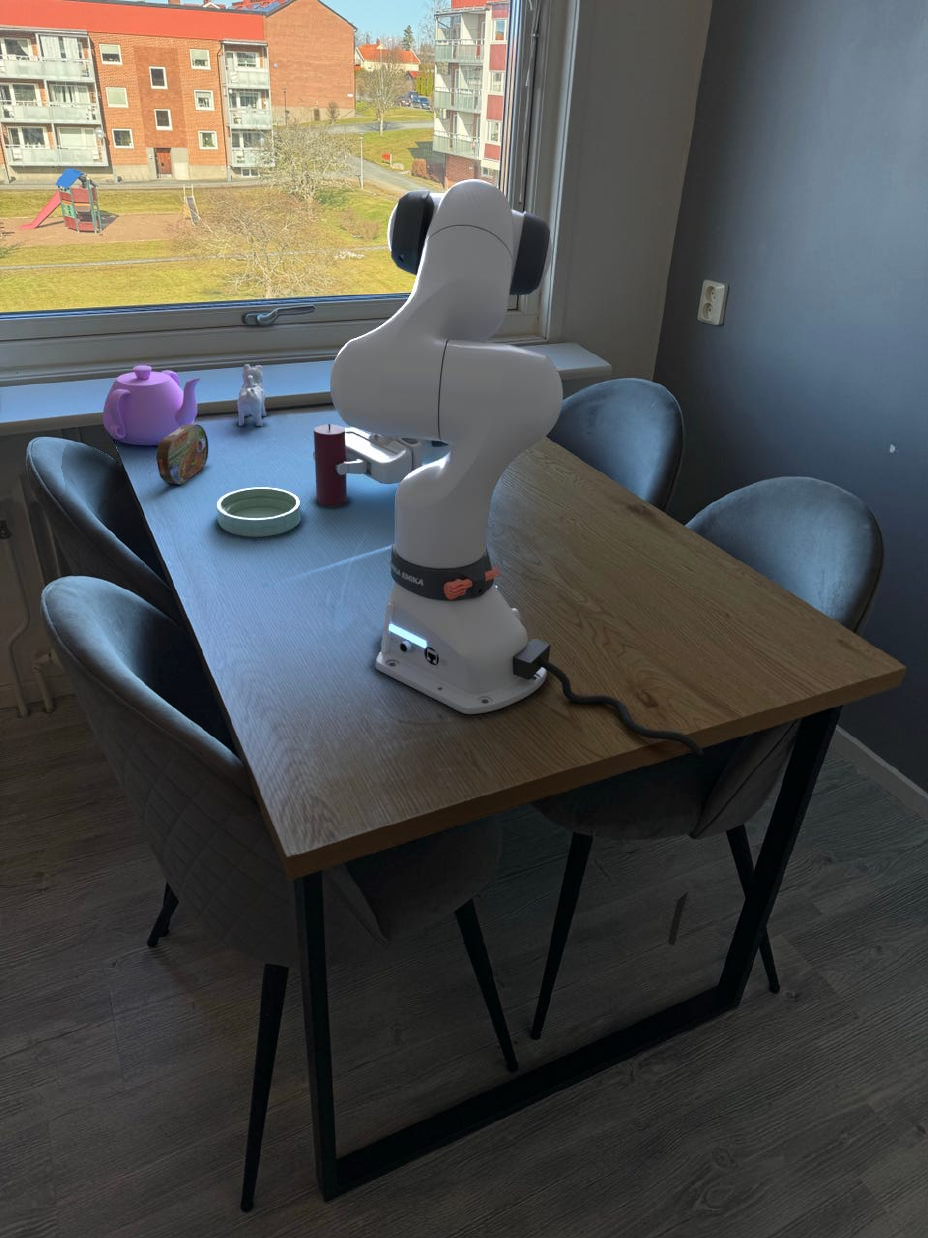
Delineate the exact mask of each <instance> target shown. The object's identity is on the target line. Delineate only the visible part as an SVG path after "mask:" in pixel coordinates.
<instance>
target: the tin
mask: <svg viewBox="0 0 928 1238" xmlns="http://www.w3.org/2000/svg"><path fill="white" fill-rule="evenodd" d="M155 454H156V455H155V456H156V457H155V459H156V464H157V469H158V474H159V477H160V479H161V480H162V481H163V482H164V483H167V484H173V485H174V484H175V485H184V484H185V483H186V482H188V481H189V480H190V479H191V478H193V477H194V476H195V475H196V474H198V473H199V472H200V471H202V470H203V469H204V468H205V466H206V464H207V461H208V457H209V439H208V436H207V433H206V430H205V429H204V427H203V426H202V425H200V424H198V423H195V424H193V425H183V426H181V427H180V428H178V429H177V430H175V431H174V432H172V433H171V434H169V435H168V436H166V437H165V438H164V439H162V440H161V442H160V443H159V445H157V449H156V453H155Z"/></svg>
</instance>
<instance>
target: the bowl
mask: <svg viewBox="0 0 928 1238" xmlns="http://www.w3.org/2000/svg"><path fill="white" fill-rule="evenodd" d="M216 514H217V523H218V525H219V526H220V528H221V529H223V530H224V531H226V532H227V533H230V534H233V535H237V536H242V537H254V538H256V537H257V538H258V537H268V536H276V535H279V534H283V533H286V532H289V531H291V530H292V529H295V527H297V526H298V525H299V524H300V522H301V519H302V518H301V517H302V515H301V501H300V498H299V497H298V496H297V495H296V494H294V493H292V492H290V491H287V490H285V489H281V488H275V487H250V488H242V489H238V490H234V491H231V492H228V493H227V494H225V495H223V496H221V497H220V498H219V499H218V501H217V502H216Z"/></svg>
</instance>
